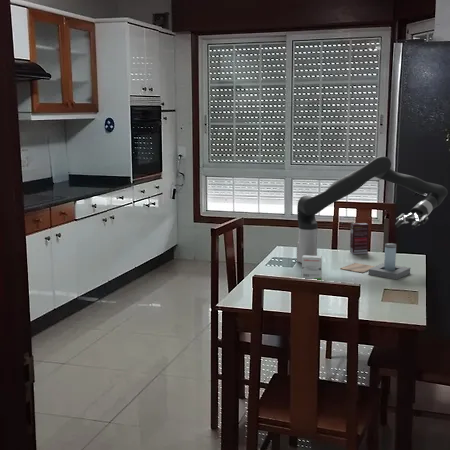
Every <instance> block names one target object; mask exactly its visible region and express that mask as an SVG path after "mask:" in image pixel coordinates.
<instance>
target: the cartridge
mask: <svg viewBox="0 0 450 450" xmlns="http://www.w3.org/2000/svg"><path fill="white" fill-rule="evenodd" d="M396 256H397V243H393V242H391V243H389V242H388V243H384V257H383V258H384V262H383V264H384V270H389V271H395V266H396V260H397V257H396Z"/></svg>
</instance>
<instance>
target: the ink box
mask: <svg viewBox="0 0 450 450" xmlns="http://www.w3.org/2000/svg"><path fill="white" fill-rule="evenodd" d="M322 259H323V258H322V255H317V256H309V255H303V257H302V263H301V279H302V278H305V279H317V280H321V281H322V268H323V267H322V265H323V264H322V262H323V261H322Z"/></svg>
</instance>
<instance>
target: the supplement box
mask: <svg viewBox="0 0 450 450" xmlns="http://www.w3.org/2000/svg"><path fill="white" fill-rule="evenodd" d="M369 227H370V226H369V223H366V222H360V223H359V222H355V223H351V222H350V237H349V238H350V240H349V242H350V245H349V252H350V253H351V254H352V255H358V254H359V255H361V254H363V255H365V254H369Z"/></svg>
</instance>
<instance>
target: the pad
mask: <svg viewBox="0 0 450 450" xmlns="http://www.w3.org/2000/svg"><path fill="white" fill-rule="evenodd" d="M373 267H375V265H370V264H364V263H358V262H353V263H350V264H348V265H345V266H343V267H340V268H339V269H340V270H343V271H349V272H355V273H361V274H364V273H367V272H369V269H370V268H373Z"/></svg>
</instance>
